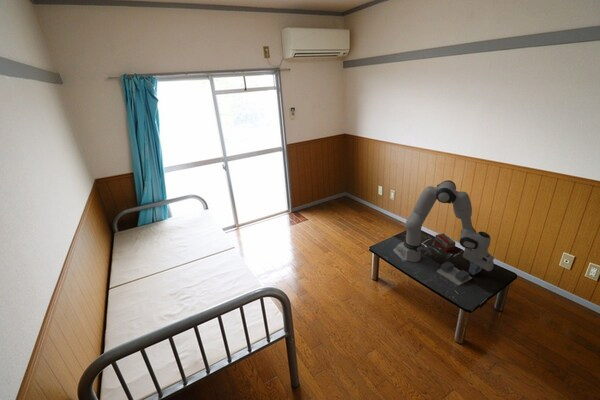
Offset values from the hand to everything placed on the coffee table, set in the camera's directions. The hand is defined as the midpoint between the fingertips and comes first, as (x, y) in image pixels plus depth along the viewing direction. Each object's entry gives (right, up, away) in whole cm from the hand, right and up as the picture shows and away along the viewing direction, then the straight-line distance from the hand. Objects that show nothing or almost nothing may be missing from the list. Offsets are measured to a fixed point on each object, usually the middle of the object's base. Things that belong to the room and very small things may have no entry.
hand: (475, 268), depth 205 cm
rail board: (-15, -5, +2) cm, 16 cm away
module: (0, -2, +1) cm, 3 cm away
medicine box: (-5, +11, +35) cm, 37 cm away
